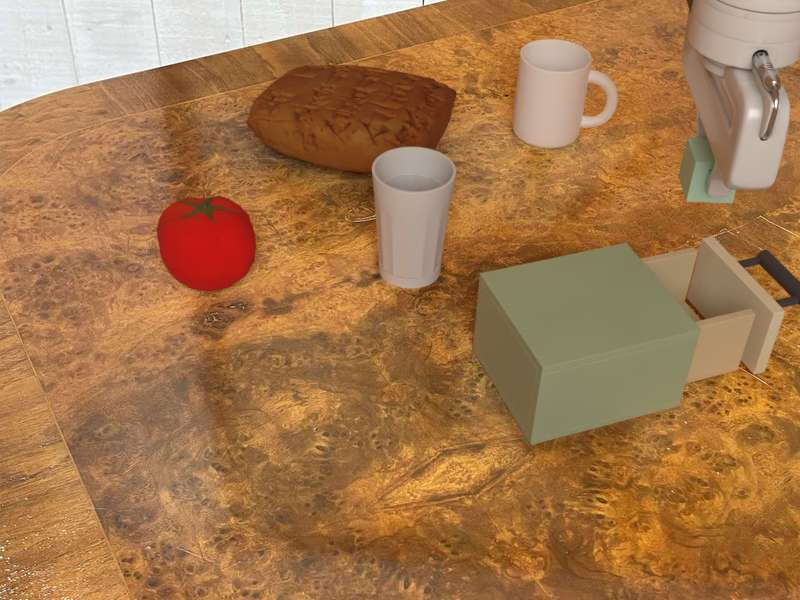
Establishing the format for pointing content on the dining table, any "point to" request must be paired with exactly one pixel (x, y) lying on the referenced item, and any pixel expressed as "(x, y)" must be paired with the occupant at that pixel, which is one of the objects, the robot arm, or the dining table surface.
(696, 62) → the robot arm
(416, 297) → the dining table surface
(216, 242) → the tomato
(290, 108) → the brown bread loaf
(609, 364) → the cabinet
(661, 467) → the dining table surface
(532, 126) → the mug
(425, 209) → the cup
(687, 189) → the block
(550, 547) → the dining table surface
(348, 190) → the dining table surface
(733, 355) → the drawer
